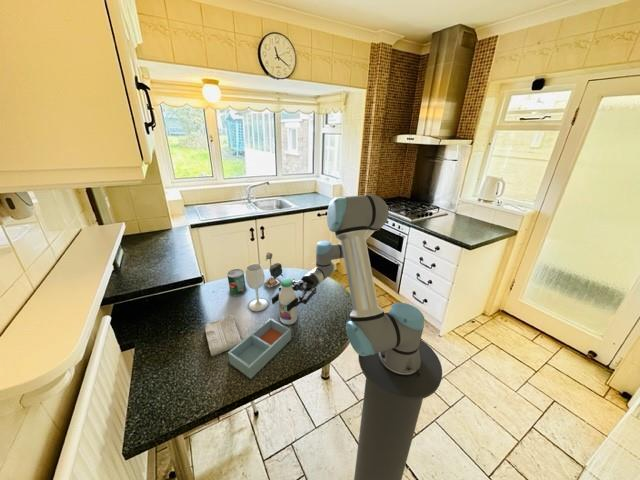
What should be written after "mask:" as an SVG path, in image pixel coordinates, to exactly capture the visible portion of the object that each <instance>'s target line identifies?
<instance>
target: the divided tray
mask: <svg viewBox="0 0 640 480" xmlns="http://www.w3.org/2000/svg"><path fill="white" fill-rule="evenodd" d="M291 340H292V329H291V328H289V327H288V326H286V325H285V324H283V323H280V322H279V321H277V320H275V319H273V318H271V317H269V319H268V320H266V321H265V322H264V323H262V324H261V325H260V326H259V327H258V328H256V329H255V330H254V331H252V332H251V333H250V334H249V335H247V336H246V337H245V338H244V339H243V340H241V342H240V343H239V344H238V345H236V346H235V347H234V348H233V349H231V350H228V352H227V356H228V362H229V364H230V365H231V366H232V367H234V368H235V369H237V370H238V371H240V373H242V374H244V375H245V376H246V377H247V378H249V379H250V380H252V379H253V378H254V377H255V375H257V374H258V373H259V372H260V371H261V369H263V368H264V367H265V366H266V365H267V364H268V363H269V362H270V361H271V360H272V359H273V358H274V357H275V356H276V355H277V354H278V353H279V352H280V351H281V350H282V349H283V348H284V347H286V345H288V343H289V342H290V341H291Z"/></svg>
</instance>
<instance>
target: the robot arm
mask: <svg viewBox="0 0 640 480" xmlns="http://www.w3.org/2000/svg"><path fill="white" fill-rule="evenodd" d="M389 214H390V211H389V206H388V205H387V202H385V200H384V199H383V198H382V197H380V196H379V195H375V194H366V195H365V194H363V195H349V196H341V197H335V198H333V199H332V200H331V201H330V202H329V204H328V207H327V214H326V222H327V227H328V230H329V231H330V232H331V233H334V234H335V235H334V236H335V238H337V239H338V240H339V241H340V243H334V244H333V243H332V242H331V241H329V240H320V241H318V242H317V243H316V246H315V260H316V261H315V267H314V268H313V269H312V270H310V271H309V272H307V273H306V274H304V275H303V276H302V278H301V279H299V280H296V279H295V278H292V279H291V280H292V288H293V290H294V292H298V291H300V295H299V296H298V297H296V299H294V300H293V301H292V302H291V303H289V304H288V305H287V311H288V312H289V311H290V310H291V309H292V308H293V307H296V306H297V307H298V306H299V305H301V304H303V305H306V304H307V303H308V302H309V301H310V299H312V297H313V296H314V295H316V294H317V286H319V285H321V283H323V282H324V281H325V280H326V279H328V278H329V277H330V276H331V275H332V274H333V273H334V272H335V269H336V268H335V265H334V263H333V262H332V261H334V260H340V259H343V261H344V265H345V271H346V278H347V283H348V287H349V288H348V289H349V294H350V300H351V305H352V310H351V311H350V313H349V318H350V320H348V321H347V322H345V323H346V324H345V332H346V336H347V339H348V341H349V343H350V345H351V347H352V349H353V351H354V352H355V353H356V354H357V355H358V356H359V355H360V356H368V355H374V354H376V353H379V360H380V362H381V364H382V365H383V367H384V368H385V369H386V370H388V371H389V372H391V373H393V374H395V375H398V376H412V375H414V374H415V373H418V375H419V376H420V375H421V374H420V372H419V371H418V370H419V368H420V364H421V358H420V353H419V344H420V340H422V335H423V333H424V328H425V316H424V314H423V313H422V312H421V310H420V309H419V308H417V307H415V306H414V305H412V304H409V303H407V302H401V301H400V302H395V303H392V304H391V306H390V307H389V311H387V312H385V310H384V309H383V308H382V307H381V306H379V303H378V298H377V293H376V292H377V291H376V286H375V282H374V281H375V280H374V277H373V276H374V275H373V271H372V266H371V261H370V255H369V250H368V244H367V240H368V239H369V238H370V237H371V236H372V235H373V234H374V232H376V231H380V229H382V228H383V227H384V226H385V224H386V223H387V222H388V219H389V216H390V215H389ZM281 289H282V287H281V286H279V287H278V292H276V294H275V295H274V296H272V297H271V304H272V305H274V304H277V302H279V294H280V292H281Z"/></svg>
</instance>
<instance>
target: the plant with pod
mask: <svg viewBox="0 0 640 480" xmlns="http://www.w3.org/2000/svg"><path fill="white" fill-rule="evenodd" d="M272 259H273V253H272V252H266V255H265V261H268V260H269V264H270V266H269V273H270V277H269V278H267V279H266V280H264V286H265V287H266V288H272V287H276V286H278V285H279V284H281V281H280V280H279V279H278V277H280V276H281V277H284V275H283V268H282V267H283V266H282V263H279V262H275V263H273V264H272Z"/></svg>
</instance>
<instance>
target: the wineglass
mask: <svg viewBox="0 0 640 480" xmlns="http://www.w3.org/2000/svg"><path fill="white" fill-rule="evenodd" d="M265 279H266V278H265V272H264V269H263V266H262V265H261V264H260V263H251V264H248V265H247V266H246V268H245V283H246V284H247V286H248V287H249V288H250V289H252V290H255V297H256V299H254V300H253V301H251V302H250V303H249V305H248V308H249V309H250V310H251V311H253V312H261V311H263V310H266V308H267V307H268V305H269V304H268V301H267V300H266V299H264V298H263V299H262V298H260V296H259V289H260V288H262V287H263V286H264V285H265V283H264V282H265V281H266V280H265Z"/></svg>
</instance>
